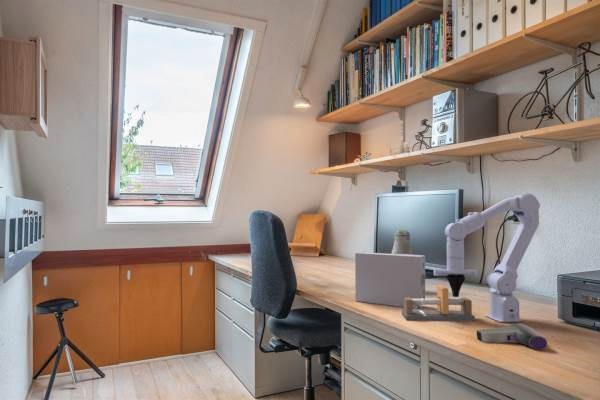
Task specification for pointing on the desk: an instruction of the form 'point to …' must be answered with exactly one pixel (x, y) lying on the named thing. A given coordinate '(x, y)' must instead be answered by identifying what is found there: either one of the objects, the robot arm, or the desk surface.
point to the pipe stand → (437, 315)
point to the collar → (443, 299)
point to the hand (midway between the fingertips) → (455, 296)
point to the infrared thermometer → (513, 336)
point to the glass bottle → (402, 243)
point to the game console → (389, 278)
